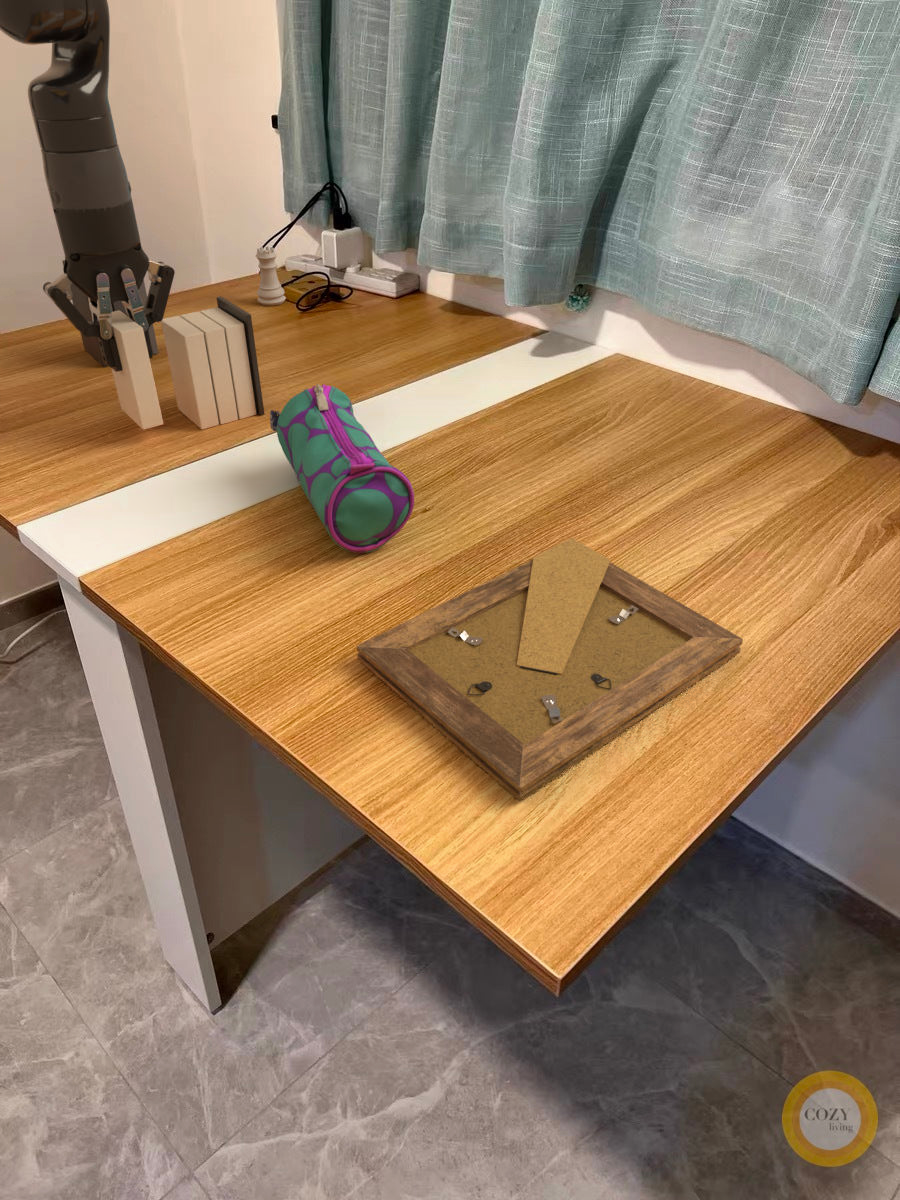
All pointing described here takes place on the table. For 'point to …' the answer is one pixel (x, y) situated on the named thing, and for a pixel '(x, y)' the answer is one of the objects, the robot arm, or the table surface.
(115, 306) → the grey books
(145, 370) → the white book
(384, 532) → the pencil case
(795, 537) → the table surface
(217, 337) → the white books
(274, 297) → the rook chess piece
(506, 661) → the picture frame
